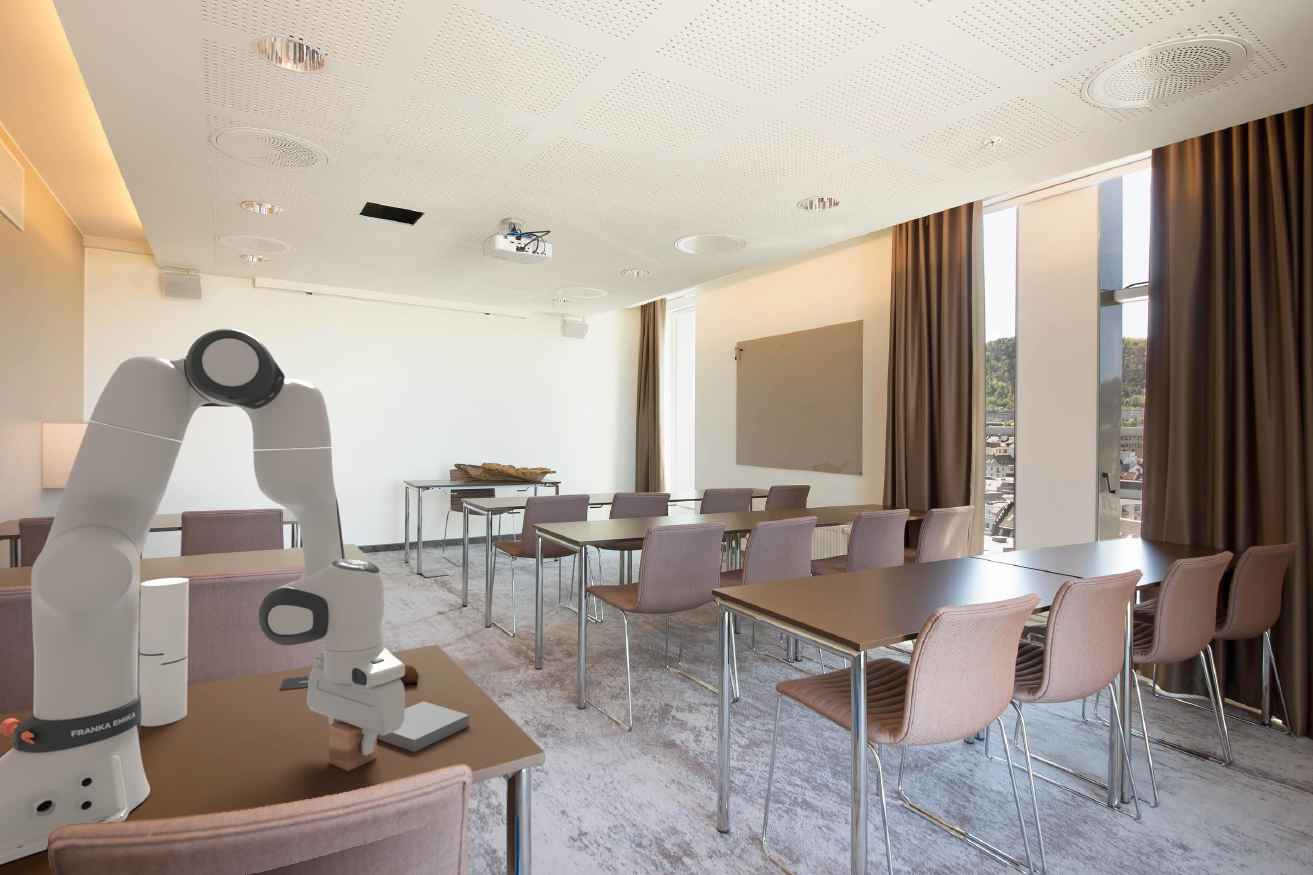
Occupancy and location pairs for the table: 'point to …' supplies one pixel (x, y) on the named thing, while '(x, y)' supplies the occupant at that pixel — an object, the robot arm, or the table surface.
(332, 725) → the terracotta block
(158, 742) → the table surface
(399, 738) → the slate base
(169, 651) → the cylindrical container
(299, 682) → the solid state drive
